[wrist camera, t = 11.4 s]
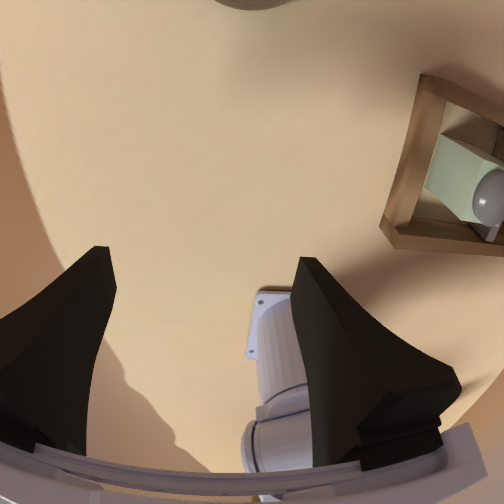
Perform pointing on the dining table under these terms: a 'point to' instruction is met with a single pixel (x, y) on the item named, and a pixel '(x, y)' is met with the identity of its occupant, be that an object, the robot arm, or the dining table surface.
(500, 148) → the pusher plate
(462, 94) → the brown wooden shallow box
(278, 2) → the supplement bottle
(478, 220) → the jar
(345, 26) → the dining table surface
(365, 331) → the robot arm
